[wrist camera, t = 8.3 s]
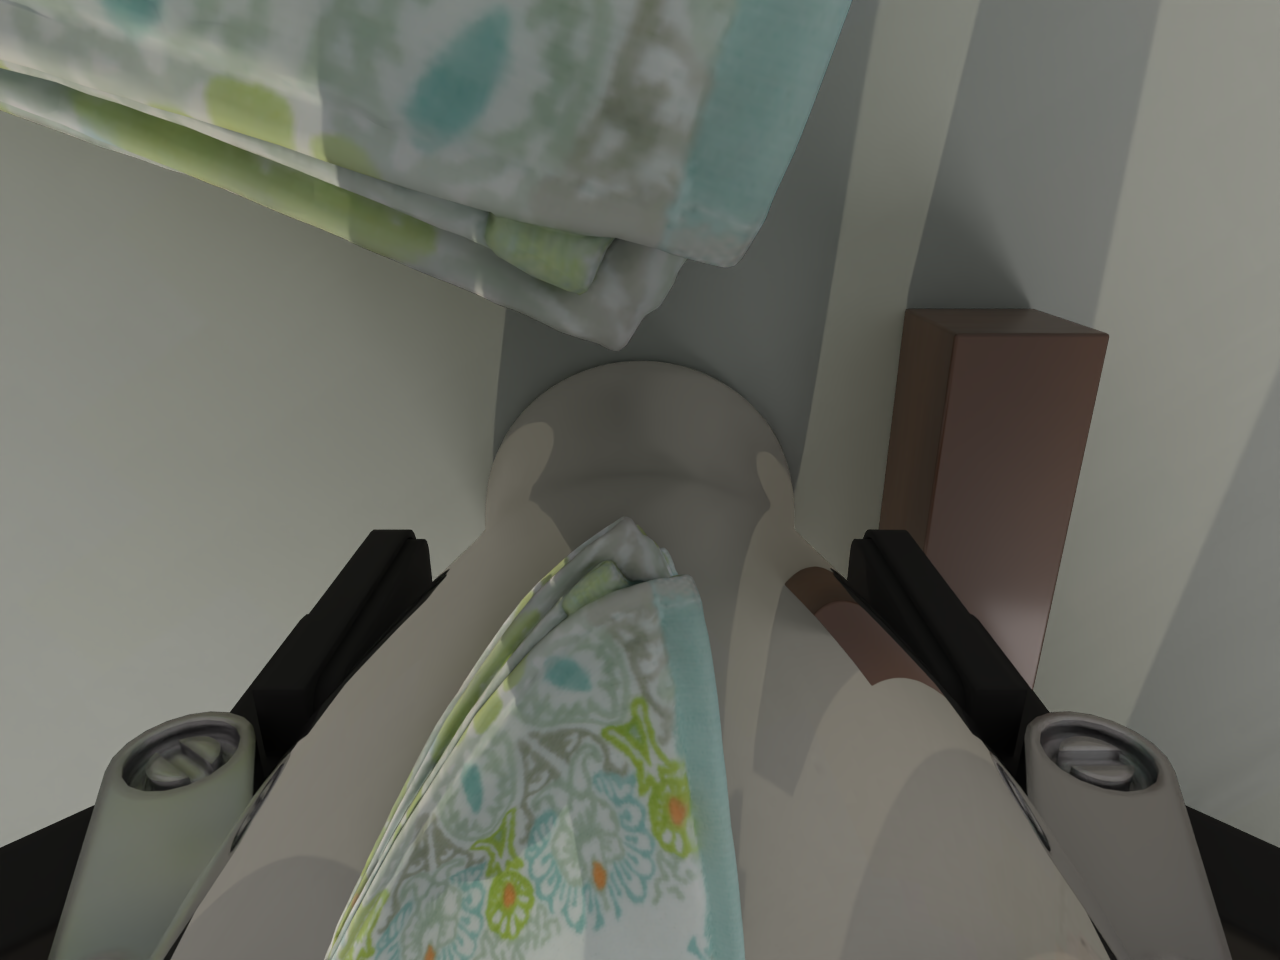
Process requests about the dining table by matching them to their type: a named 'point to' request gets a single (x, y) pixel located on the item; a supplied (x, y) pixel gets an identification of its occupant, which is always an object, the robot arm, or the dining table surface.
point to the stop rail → (992, 457)
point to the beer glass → (640, 739)
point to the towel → (456, 126)
